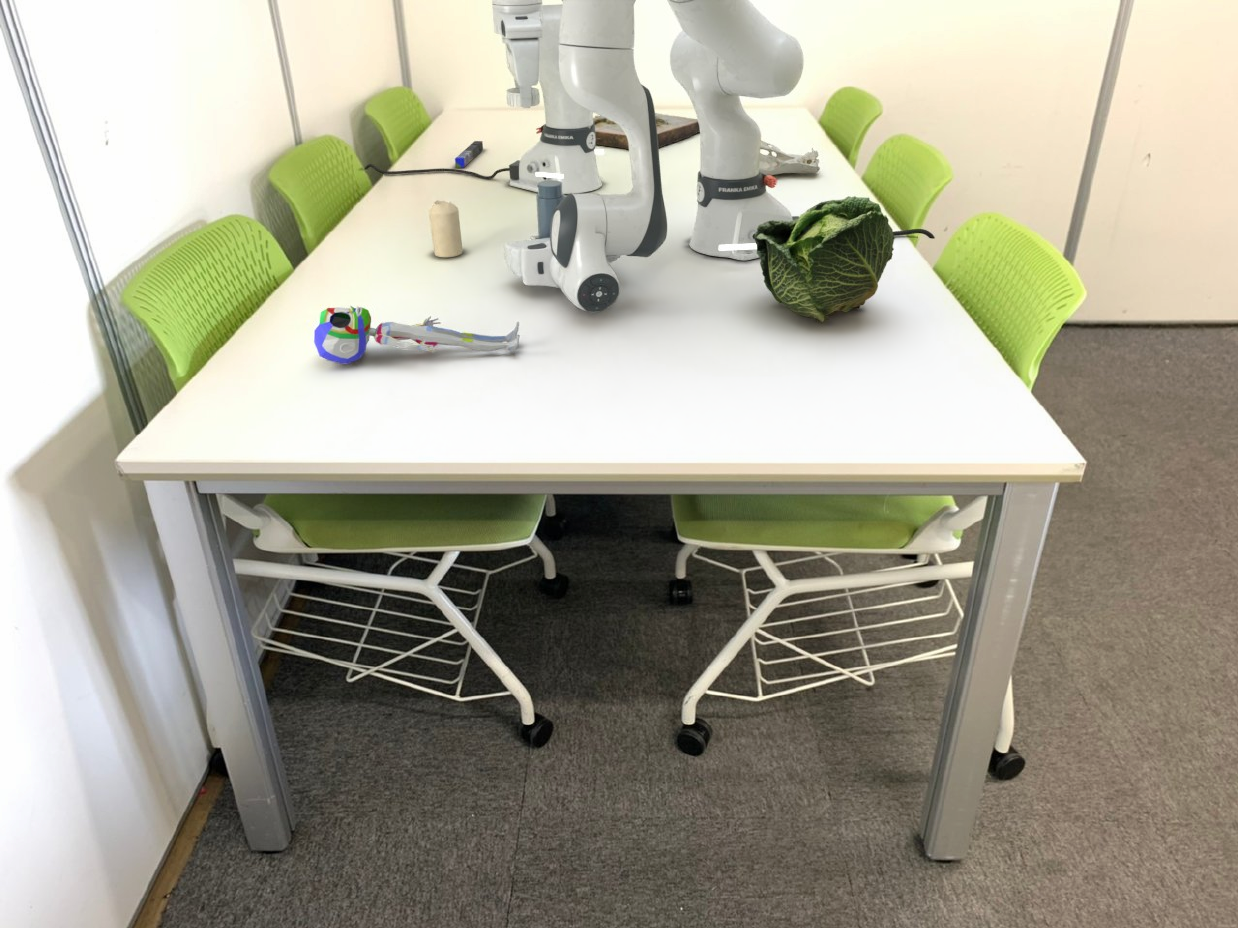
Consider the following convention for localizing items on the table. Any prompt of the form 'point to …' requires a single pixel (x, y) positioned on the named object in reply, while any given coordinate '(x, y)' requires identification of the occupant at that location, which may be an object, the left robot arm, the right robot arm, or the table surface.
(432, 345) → the toy
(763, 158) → the anatomical model
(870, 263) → the vegetable
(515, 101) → the lid
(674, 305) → the table surface
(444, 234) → the candle
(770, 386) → the table surface
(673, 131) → the plaque
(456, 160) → the pillar
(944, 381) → the table surface
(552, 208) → the jar
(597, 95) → the right robot arm
